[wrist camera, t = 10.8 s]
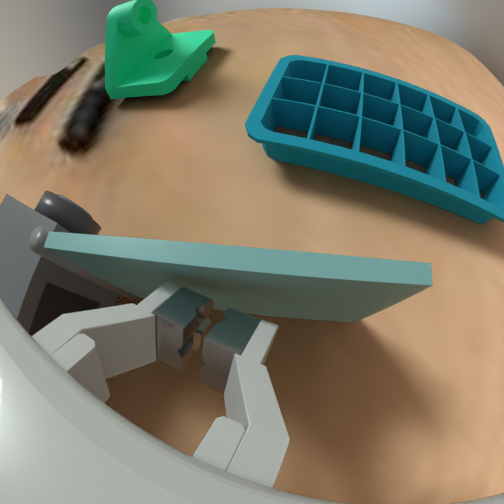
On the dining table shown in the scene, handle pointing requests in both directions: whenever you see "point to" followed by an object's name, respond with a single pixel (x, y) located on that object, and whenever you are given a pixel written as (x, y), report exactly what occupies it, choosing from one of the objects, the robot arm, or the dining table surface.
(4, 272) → the action camera
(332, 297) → the side door
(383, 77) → the ice cube tray
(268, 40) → the dining table surface
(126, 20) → the camera mount
